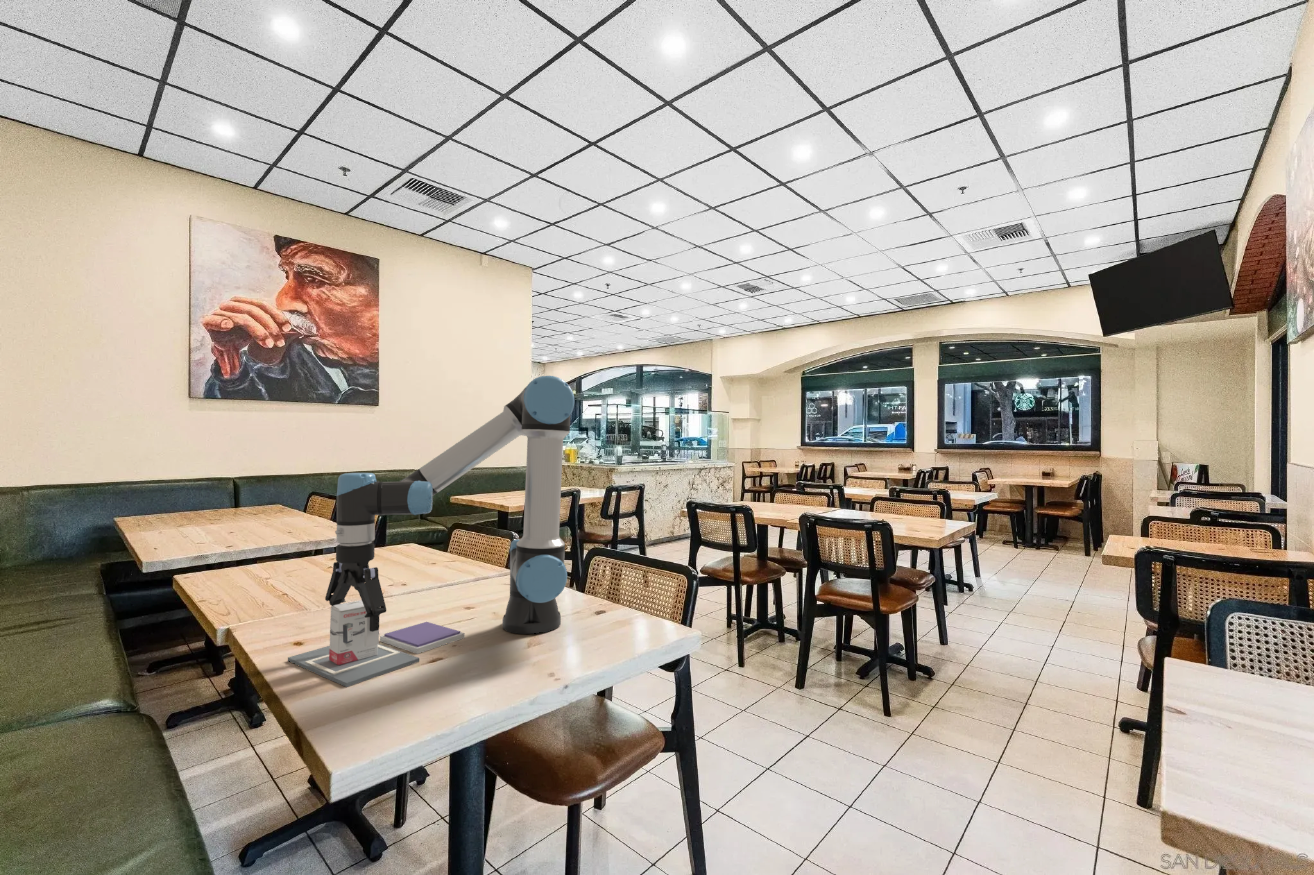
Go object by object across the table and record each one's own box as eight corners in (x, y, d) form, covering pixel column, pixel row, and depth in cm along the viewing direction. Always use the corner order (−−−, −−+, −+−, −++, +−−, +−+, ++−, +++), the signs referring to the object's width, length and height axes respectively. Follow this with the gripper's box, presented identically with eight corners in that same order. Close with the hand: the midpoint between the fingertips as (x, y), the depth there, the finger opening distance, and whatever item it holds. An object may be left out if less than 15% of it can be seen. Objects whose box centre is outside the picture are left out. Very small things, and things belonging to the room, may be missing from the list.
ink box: (337, 666, 120) (338, 610, 120) (328, 660, 123) (329, 605, 123) (379, 655, 126) (380, 601, 126) (369, 649, 129) (370, 597, 130)
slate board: (419, 661, 125) (419, 656, 125) (346, 687, 111) (346, 682, 111) (359, 640, 138) (359, 636, 138) (287, 661, 124) (287, 656, 124)
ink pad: (464, 637, 140) (464, 631, 140) (417, 653, 129) (417, 646, 129) (427, 627, 148) (427, 620, 148) (379, 641, 137) (379, 634, 137)
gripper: (309, 539, 129) (307, 633, 128) (370, 551, 115) (369, 656, 115) (342, 535, 135) (341, 624, 135) (404, 546, 121) (403, 645, 121)
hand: (354, 639), depth 125 cm, fingers open, 13 cm apart
